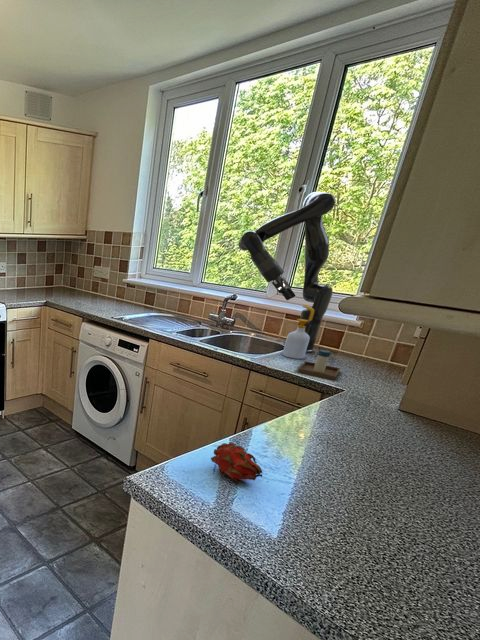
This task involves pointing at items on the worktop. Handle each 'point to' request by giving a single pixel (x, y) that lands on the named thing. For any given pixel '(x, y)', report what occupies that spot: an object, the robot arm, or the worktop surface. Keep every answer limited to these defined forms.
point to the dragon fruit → (236, 462)
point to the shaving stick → (322, 360)
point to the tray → (328, 373)
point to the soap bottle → (298, 339)
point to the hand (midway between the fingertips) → (291, 298)
